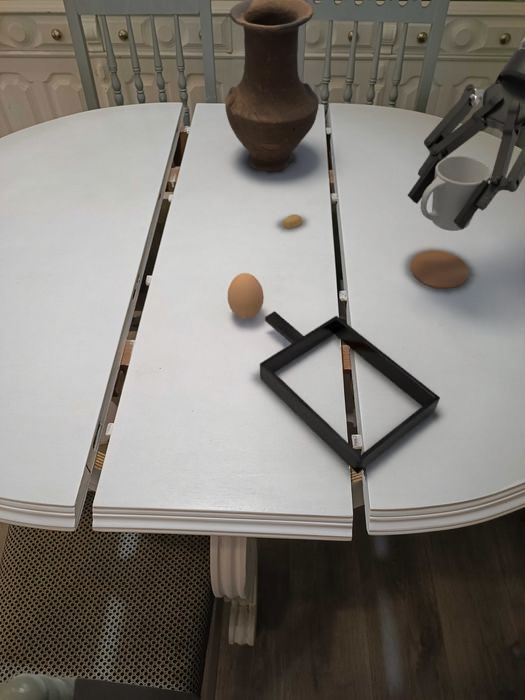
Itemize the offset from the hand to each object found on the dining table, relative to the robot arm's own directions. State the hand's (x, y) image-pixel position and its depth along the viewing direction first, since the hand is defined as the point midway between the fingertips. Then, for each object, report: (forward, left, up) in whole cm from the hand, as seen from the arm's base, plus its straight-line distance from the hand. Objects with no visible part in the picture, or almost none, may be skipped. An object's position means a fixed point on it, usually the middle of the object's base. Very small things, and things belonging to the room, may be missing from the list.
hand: (434, 212), depth 77 cm
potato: (+29, +2, -17) cm, 33 cm away
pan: (-4, +23, -17) cm, 29 cm away
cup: (0, -3, -4) cm, 5 cm away
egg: (+15, +24, -17) cm, 33 cm away
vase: (+50, -10, -17) cm, 53 cm away
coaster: (+2, -9, -17) cm, 19 cm away
